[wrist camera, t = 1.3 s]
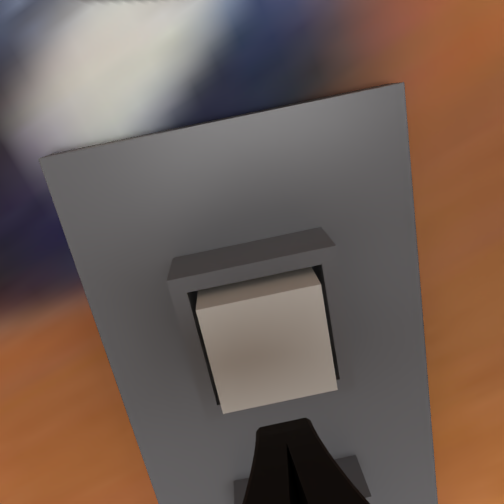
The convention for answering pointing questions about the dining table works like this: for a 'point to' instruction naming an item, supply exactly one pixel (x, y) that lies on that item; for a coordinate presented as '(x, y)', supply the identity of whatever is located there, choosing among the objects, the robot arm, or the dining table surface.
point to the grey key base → (254, 266)
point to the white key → (267, 339)
